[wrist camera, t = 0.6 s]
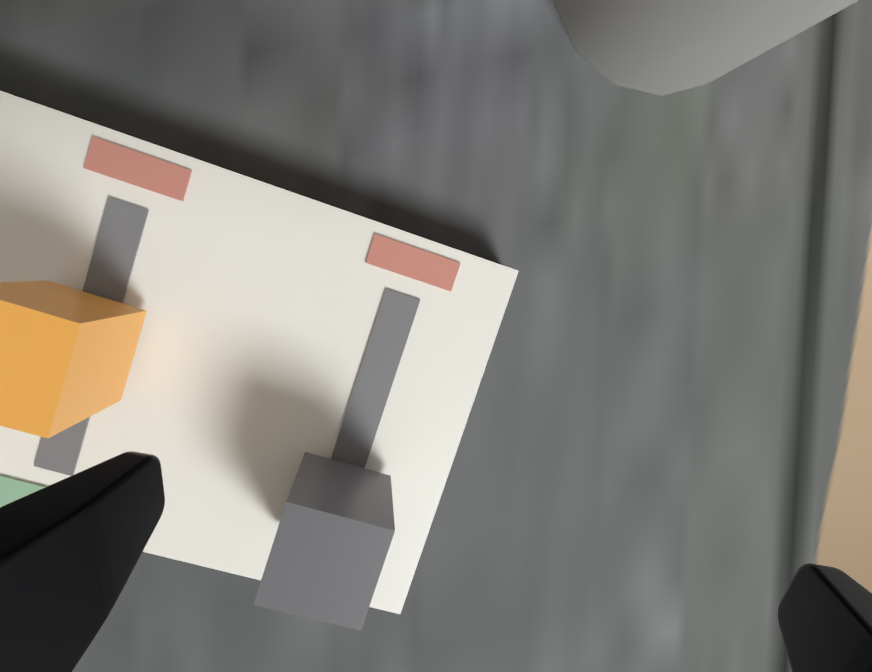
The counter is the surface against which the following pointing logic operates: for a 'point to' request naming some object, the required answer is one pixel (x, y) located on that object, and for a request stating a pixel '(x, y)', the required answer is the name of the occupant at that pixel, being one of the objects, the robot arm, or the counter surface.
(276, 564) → the switch
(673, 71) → the cup
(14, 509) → the robot arm
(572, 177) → the counter surface
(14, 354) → the orange matte cube
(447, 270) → the breaker panel
